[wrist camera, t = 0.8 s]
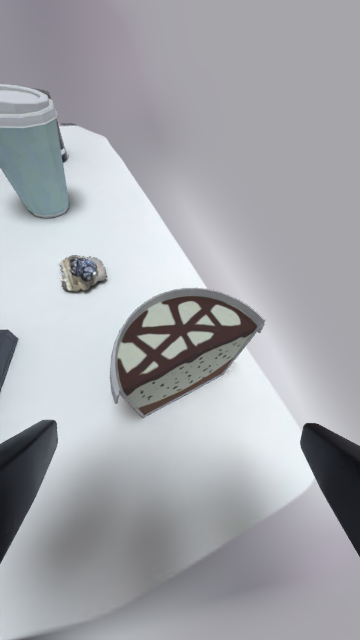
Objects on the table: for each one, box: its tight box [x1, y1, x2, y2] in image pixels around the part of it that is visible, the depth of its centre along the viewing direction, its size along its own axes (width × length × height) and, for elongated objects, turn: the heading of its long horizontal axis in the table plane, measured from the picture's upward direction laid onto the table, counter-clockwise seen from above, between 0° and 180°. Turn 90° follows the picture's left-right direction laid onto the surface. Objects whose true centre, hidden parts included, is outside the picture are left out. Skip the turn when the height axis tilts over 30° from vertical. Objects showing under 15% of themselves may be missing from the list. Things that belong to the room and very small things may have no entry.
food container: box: [110, 288, 265, 418], centre depth 20 cm, size 12×6×10 cm, turn 119°
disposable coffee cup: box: [0, 84, 69, 218], centre depth 33 cm, size 11×11×15 cm
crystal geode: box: [59, 255, 107, 291], centre depth 30 cm, size 7×8×2 cm
